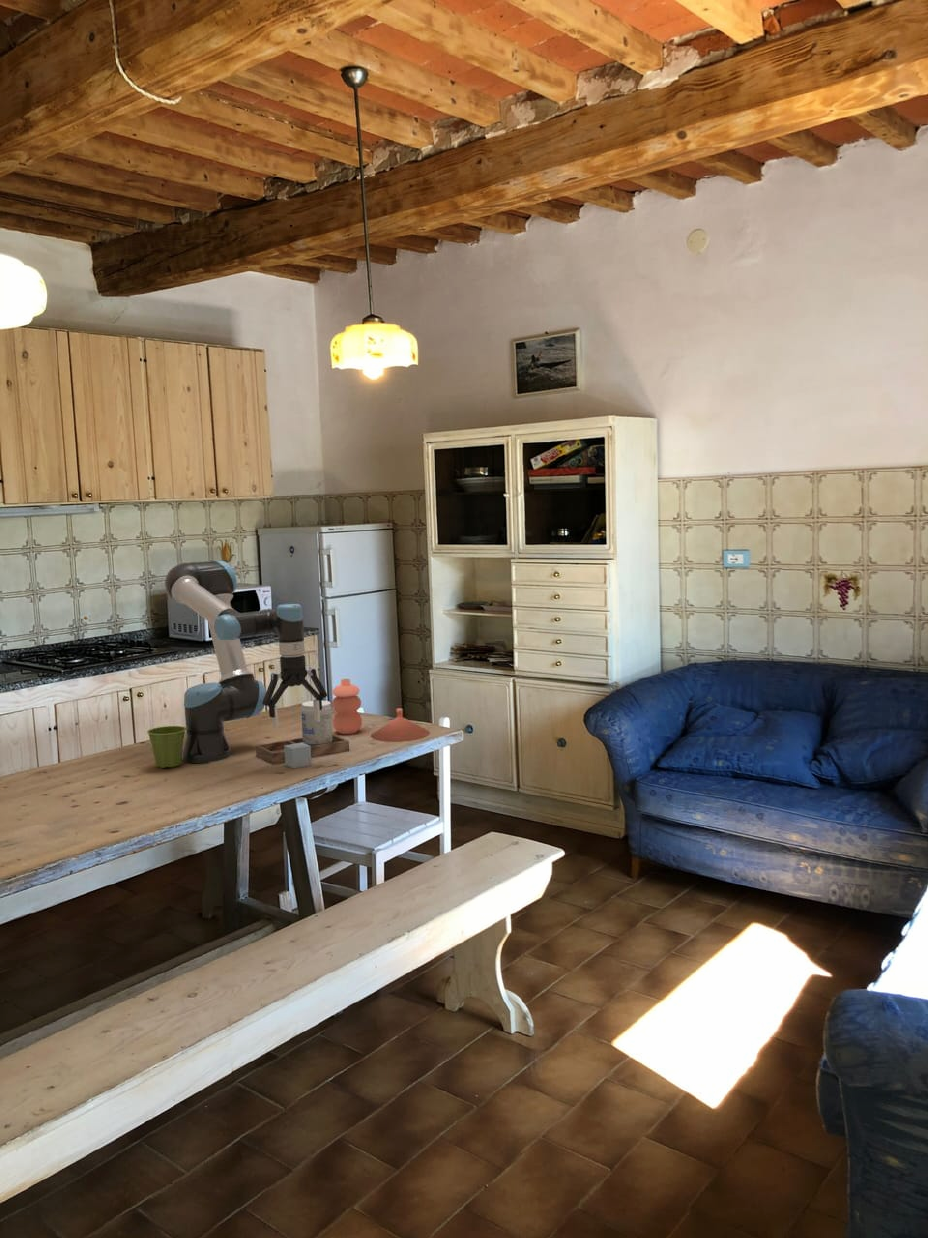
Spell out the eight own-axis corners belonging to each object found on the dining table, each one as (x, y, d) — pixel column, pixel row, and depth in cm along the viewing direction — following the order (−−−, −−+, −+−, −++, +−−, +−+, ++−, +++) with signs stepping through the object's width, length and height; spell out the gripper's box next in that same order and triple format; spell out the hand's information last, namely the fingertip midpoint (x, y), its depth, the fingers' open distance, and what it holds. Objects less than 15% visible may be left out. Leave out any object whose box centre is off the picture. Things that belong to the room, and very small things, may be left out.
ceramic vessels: (439, 729, 348) (437, 676, 346) (419, 743, 328) (416, 687, 326) (347, 726, 359) (344, 674, 357) (321, 739, 339) (319, 684, 337)
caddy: (273, 764, 308) (272, 753, 307) (256, 755, 319) (255, 745, 319) (349, 750, 322) (348, 740, 321) (330, 742, 333) (329, 733, 333)
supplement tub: (297, 749, 322) (294, 705, 320) (315, 743, 330) (312, 699, 328) (321, 752, 317) (318, 706, 315) (339, 745, 325) (336, 701, 324)
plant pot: (177, 770, 304) (175, 734, 303) (141, 770, 306) (139, 734, 305) (195, 760, 316) (193, 725, 314) (161, 760, 318) (158, 725, 317)
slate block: (293, 768, 302) (292, 749, 302) (285, 764, 307) (284, 745, 307) (311, 765, 306) (310, 745, 305) (303, 761, 310) (302, 742, 310)
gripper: (257, 661, 293) (262, 732, 295) (335, 651, 306) (339, 720, 308) (248, 658, 299) (253, 728, 301) (324, 649, 312) (328, 716, 314)
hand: (296, 724), depth 305 cm, fingers open, 13 cm apart
